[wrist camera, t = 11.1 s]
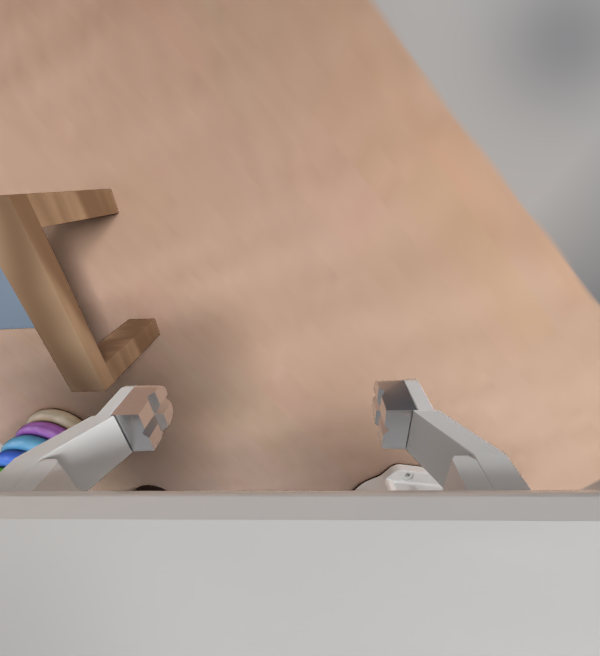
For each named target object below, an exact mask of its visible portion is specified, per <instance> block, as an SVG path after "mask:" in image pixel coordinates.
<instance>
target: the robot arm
mask: <svg viewBox="0 0 600 656" xmlns="http://www.w3.org/2000/svg"><path fill="white" fill-rule="evenodd" d="M374 392H375V395H376V396H375V397H374V398H373V404H372V406H373V416H374V421H375V424H376V425H378V436H379V440H380V443H381V447H382V448H392V449H406V450H407V451H408V452H409V453H410V454H411V455H412V457H413V458H414V459H415V460H416V461H417V462H418V463H419V464H420V465H421V466H422V467H419V466H411V465H403V464H397V465H394V466H392V467H390V468H389V469H388V470H386V471H385V472H384V473H383V474H382V475H380V476H378V477H376V478H373V479H371V480H368V481H366V482H365V483H363V484H361V485H360V486H359V487H357V488H356V489H355V490H354V491H88V490H89V489H90V488H91V487H92V486H94V485H95V484H96V483H97V482H98V481H99V480H101V479H102V478H103V477H104V476H105V475H106V474H108V473H109V472H110V471H111V470H112V469H114V468H115V467H116V466H117V465H118V464H119V463H121V462H122V461H123V460H124V459H125V458H126V457H128V456H129V455H130V454H131V453H132V451H155V449H156V447H157V445H158V444H159V442H160V440H161V438H162V437H163V434H162V431H163V430H164V429H165V428H167V427H168V426H169V424H170V422H171V421H172V416H173V406H172V403H171V402H170V401H169V400H168V399H167V398H166V396H167V394H168V392H167V390H166V388H165V387H164V386H162V385H138V386H124V387H121V389H120V390H119V391H118V392H117V393H116V394H115V395H114V396H113V397H112V398H111V400H110V401H109V402H108V403H107V404H106V405H105V406H104V407H103V408H102V409H101V411H100V412H99V413H98V414H97V415H96V416H91V417H89V418H87V419H85V420H83V421H82V422H80V423H78V424H76V425H74V426H73V427H71V428H69V429H67V430H65V431H63V432H62V433H60V434H58V435H56V436H54V437H52V438H51V439H49V440H47V441H45V442H43V443H41V444H40V445H38V446H36V447H34V448H32V449H30V450H29V451H27V452H25V453H23V454H21V455H20V456H18V457H16V458H14V459H13V460H12V461H11V462H10V463H9V464H8V465H7V466H6V467H5V468H4V469H3V470H2V471H1V472H0V656H600V490H531V489H530V488H529V486H528V485H527V484H526V482H525V481H524V479H523V478H522V476H521V475H520V474H519V472H518V471H517V469H516V468H515V466H514V465H513V464H512V462H511V461H510V459H509V458H508V457H507V455H506V454H505V453H503V452H502V451H500V450H499V449H497V448H495V447H494V446H492V445H491V444H489V443H488V442H486V441H485V440H483V439H482V438H480V437H479V436H477V435H476V434H474V433H472V432H471V431H469V430H468V429H466V428H465V427H463V426H462V425H460V424H459V423H457V422H456V421H454V420H453V419H451V418H450V417H448V416H446V415H445V414H443V413H442V412H440V411H439V410H434V409H433V407H432V405H431V404H430V402H429V400H428V398H427V396H426V394H425V393H424V391H423V389H422V387H421V385H420V383H419V381H418V380H417V379H404V380H382V381H375V383H374Z"/></svg>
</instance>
